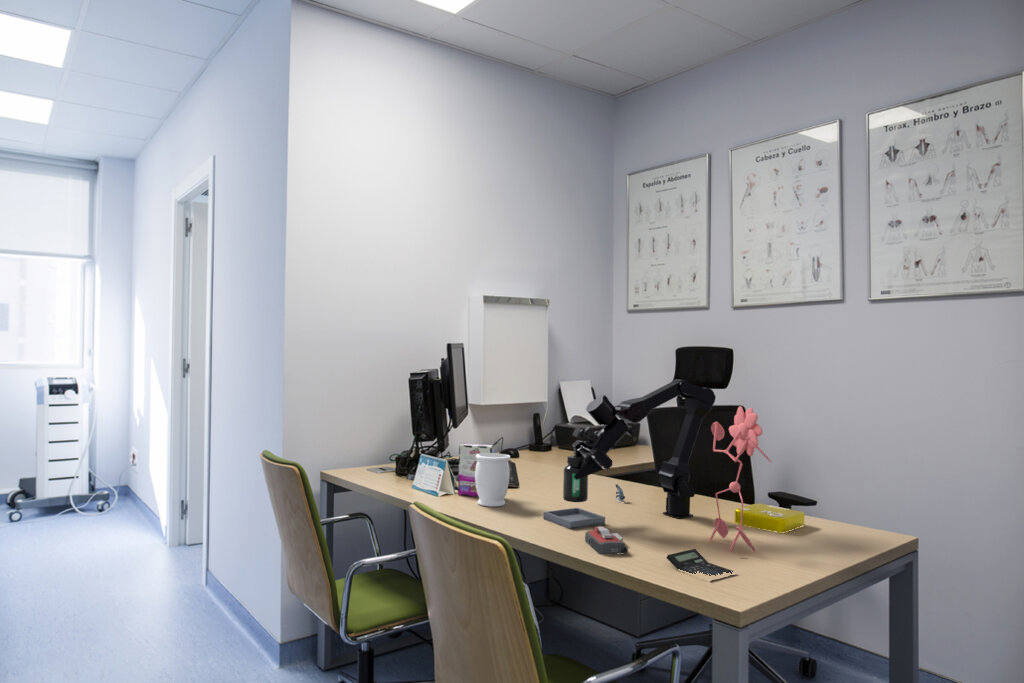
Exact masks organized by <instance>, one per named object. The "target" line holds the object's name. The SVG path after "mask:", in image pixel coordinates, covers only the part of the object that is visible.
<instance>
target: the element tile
mask: <svg viewBox="0 0 1024 683" xmlns="http://www.w3.org/2000/svg"><path fill="white" fill-rule="evenodd" d="M741 508H742V506H741V507H737V508H735V509H734V524H736V523H737V525H740V524H741ZM744 525H746V526H745V527H748V526H751V527H750V528H753V527H756V528H755V529H757V528H760V529H759V530H761V529H766V530H771V531H777V532H786V531H789V530H792V529H795V528H797V527H800V526H802V525H804V526H805V512H803V511H800V510H794V509H791V508H785V507H779V506H775V505H771V504H766V503H765V504H764V503H759V502H757V503H753V504H749V505H745V506H743V518H742V526H744ZM766 530H765V531H766Z"/></svg>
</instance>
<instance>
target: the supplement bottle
mask: <svg viewBox="0 0 1024 683" xmlns="http://www.w3.org/2000/svg"><path fill="white" fill-rule="evenodd" d="M584 462H585V457H583V456H574V455H569V456H567V460H566V463H567V465H566V466H564V468H563V482H562V484H563V485H562V486H563V487H562V490H563V491H562V496H563V498H562V499H563V500H564V501H566V502H571V503H584V502H586V501H588V496H589V495H588V494H589V493H588V492H589V475H588V476H585V477H583V478H580V479H578V480H576V479H575V478H574V476H575V475H576V473H577V472H578V470H579V469H580V468H581V466H582V465H583V464H584Z"/></svg>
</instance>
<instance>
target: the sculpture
mask: <svg viewBox="0 0 1024 683" xmlns="http://www.w3.org/2000/svg"><path fill="white" fill-rule="evenodd" d="M615 488H616V490H617V491H615V494H616V496H615V499H616V500H618V501H621V502H625V503H626V500H624V499H626V496H625V494H624V490H623V489H622V487H621V486H620V485H619V484H618V483H616V484H615Z"/></svg>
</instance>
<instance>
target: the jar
mask: <svg viewBox="0 0 1024 683" xmlns="http://www.w3.org/2000/svg"><path fill="white" fill-rule="evenodd" d="M476 459H477V460H478V461H477V464H476V469H475V481H476V490H477V494H478V496H479V497H478V498H479V499H477V504H478V505H479V506H482V507H490V508H492V507H493V508H494V507H495V508H496V507H502V506H505V505H506V501H505V498H506V496H507V493H508V489H509V488H508V487H509V484H510V477H511V476H510V475H511V473H510V471H511V470H510V464H509V461H510V459H511V455H509V454H506V453H497V452H495V453H482V454H477V455H476Z"/></svg>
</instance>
